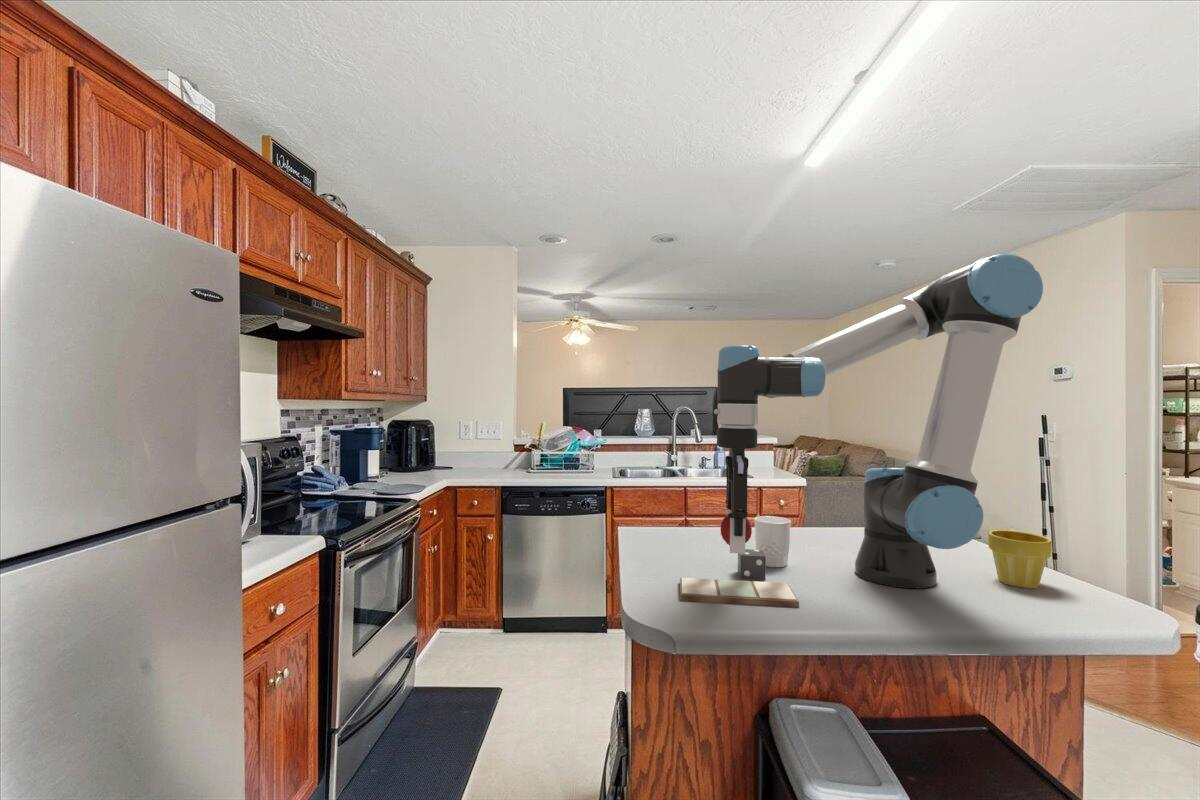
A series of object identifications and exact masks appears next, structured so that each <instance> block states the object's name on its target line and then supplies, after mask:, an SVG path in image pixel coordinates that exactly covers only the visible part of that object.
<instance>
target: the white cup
mask: <svg viewBox="0 0 1200 800" xmlns="http://www.w3.org/2000/svg"><path fill="white" fill-rule="evenodd" d="M791 524H792V521H791V519H789V518H786V517H783V516H781V517H780V516H776V515H775V516H773V515H761V516H756V517H754V534H755V535H754V537H755V538H754V539H755V550H762V551H763V553H764V555H765V556H766V563H765V567H769V568H784V567H787V566H788V565H789V553H790V541H791Z"/></svg>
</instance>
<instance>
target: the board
mask: <svg viewBox="0 0 1200 800" xmlns="http://www.w3.org/2000/svg"><path fill="white" fill-rule="evenodd" d="M679 587H680V588H679V590H680V593H679V595H680V601H683V602H701V603H702V602H703V603H716V604H717V603H719V604H733V605H734V604H738V605H752V606H753V605H754V606H770V607H771V606H774V607H791V608H800V601H799V599H798V598H797V596H796V594H795V593H794V591H793V590H792V588H791V586H790V585H789V583H787V582H778V581H777V582H775V581H774V582H773V581H759V580H758V581H757V580H751V581H750V580H739V579H738V580H737V579H735V580H733V579H714V578H700V577H699V578H696V577H680V578H679Z"/></svg>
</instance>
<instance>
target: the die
mask: <svg viewBox="0 0 1200 800" xmlns="http://www.w3.org/2000/svg"><path fill="white" fill-rule="evenodd" d="M765 563H766V556H765V555H764V553H763V551H762V550H756V549H752V548H751V549H750V548H745V554H740V553H737V573H738V576H739V579H740V580H751V581H757V580H758V581H766V566H765Z"/></svg>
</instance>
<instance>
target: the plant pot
mask: <svg viewBox="0 0 1200 800" xmlns="http://www.w3.org/2000/svg"><path fill="white" fill-rule="evenodd" d="M987 536H988V537H987V538H988V539H987V543H988V544H987V545H988V548H989V549H990V550H991V551H992V556H993V557H992V558H993V561H994V565H995V570H996V575H997V579H998V581H999V582H1001V583H1003V584H1006V585H1009V586H1013V587H1017V588H1018V587H1019V588H1022V589H1023V588H1024V589H1025V588H1026V589H1036V588H1038V587H1040V583H1041V579H1042V576H1043V572H1044V569H1045V566H1046V563H1047V559H1049V558H1051V557H1052V549H1053V548H1052V547H1053V546H1052V539H1051V538H1050V537H1047V536H1044V535H1042V534H1041V535H1040V534H1037V533H1033V532H1026V531H1021V530H1020V531H1019V530H1009V529H993V530H990V531H988V535H987Z"/></svg>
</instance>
